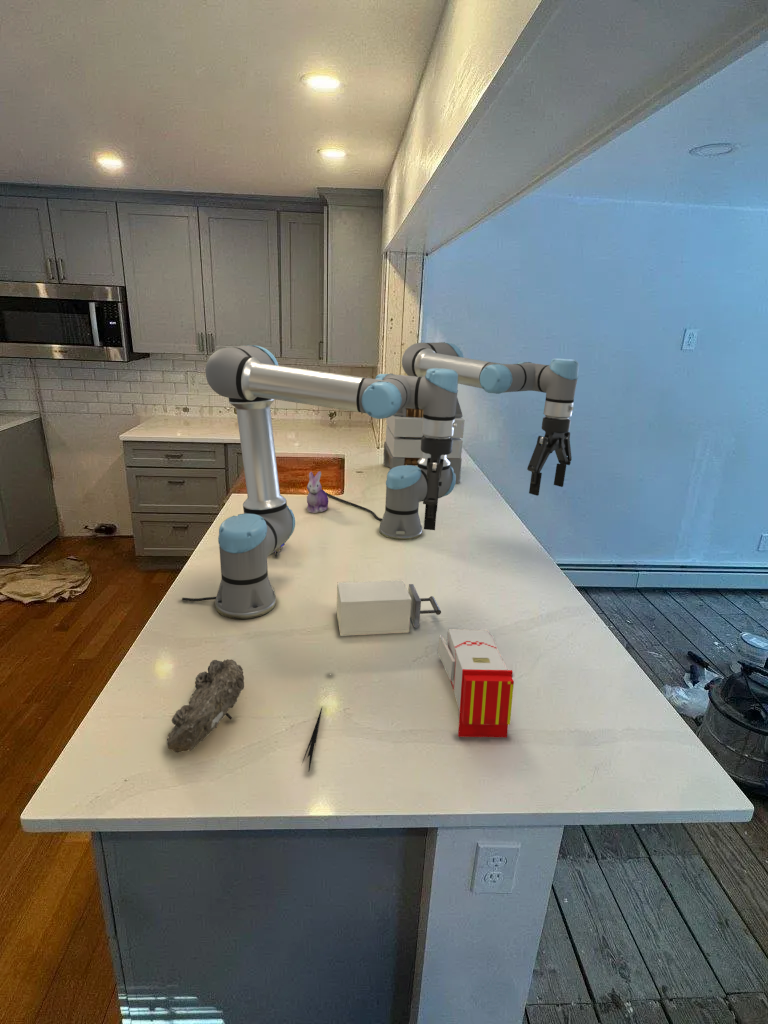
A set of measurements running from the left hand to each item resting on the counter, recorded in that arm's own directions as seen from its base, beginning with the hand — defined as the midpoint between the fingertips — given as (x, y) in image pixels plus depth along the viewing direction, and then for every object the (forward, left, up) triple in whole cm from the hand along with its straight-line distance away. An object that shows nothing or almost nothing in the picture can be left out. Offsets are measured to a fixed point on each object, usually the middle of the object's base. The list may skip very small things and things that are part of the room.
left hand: (430, 519), depth 142 cm
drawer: (-6, -9, -24) cm, 27 cm away
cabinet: (-12, -11, -25) cm, 30 cm away
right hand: (+30, +30, +2) cm, 43 cm away
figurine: (-51, +65, -25) cm, 87 cm away
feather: (-13, -48, -25) cm, 56 cm away
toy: (+14, -32, -26) cm, 43 cm away
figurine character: (-52, +25, -26) cm, 63 cm away
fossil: (-33, -52, -25) cm, 67 cm away
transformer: (-20, +131, -26) cm, 135 cm away
